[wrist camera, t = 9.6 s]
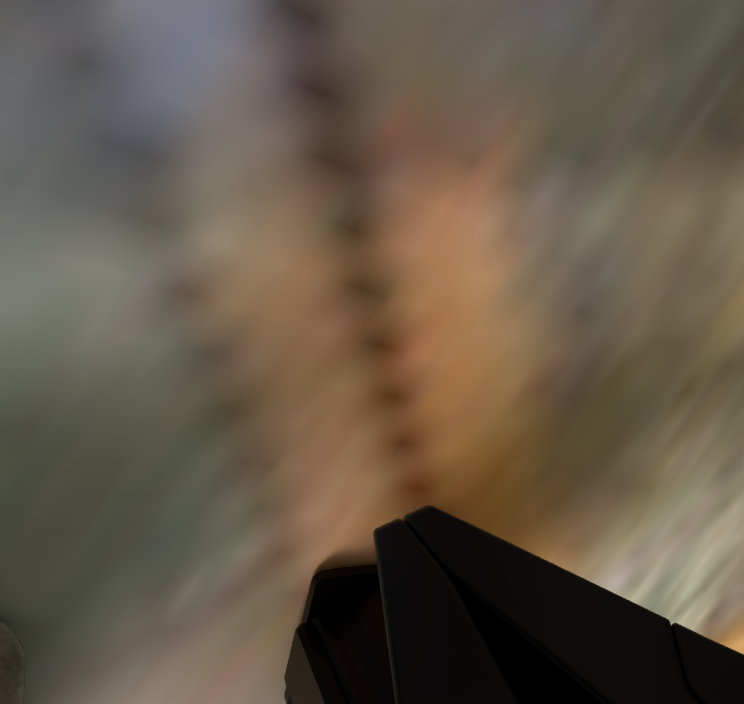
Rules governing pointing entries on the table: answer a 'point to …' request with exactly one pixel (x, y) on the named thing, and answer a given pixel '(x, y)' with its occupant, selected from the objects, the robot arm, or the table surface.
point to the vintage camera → (11, 667)
